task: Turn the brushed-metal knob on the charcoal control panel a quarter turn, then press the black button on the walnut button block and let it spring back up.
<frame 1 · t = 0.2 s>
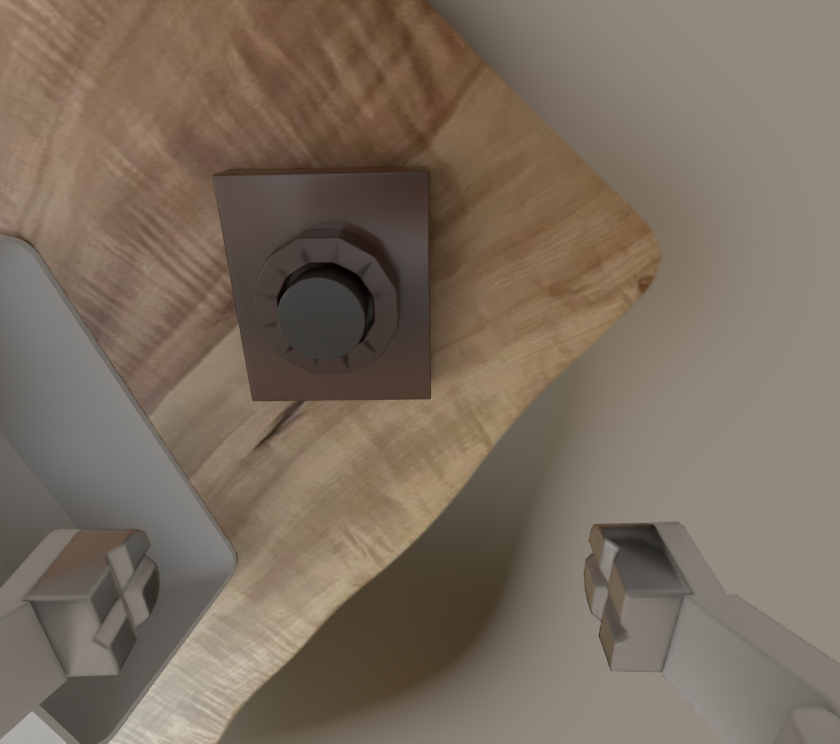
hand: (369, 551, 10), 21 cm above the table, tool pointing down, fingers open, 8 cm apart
grey storage bin: (42, 453, 34), on the table
button block: (337, 285, 29), on the table
button: (324, 313, 25), point 4 cm above the table, slide at 0.1 cm
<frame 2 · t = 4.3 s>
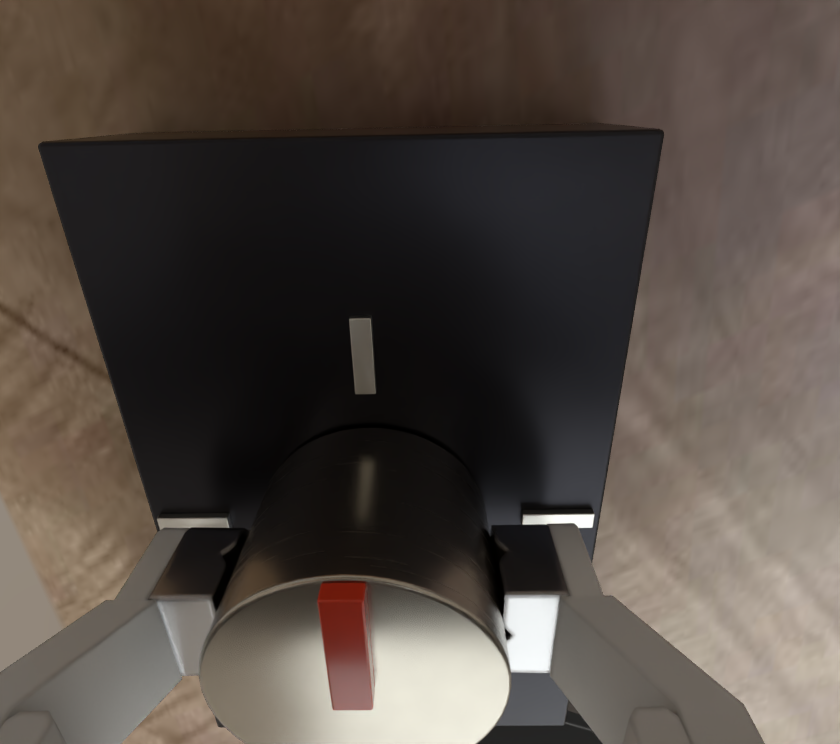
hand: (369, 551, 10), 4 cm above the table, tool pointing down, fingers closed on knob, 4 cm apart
knob: (366, 598, 9), point 5 cm above the table, hinge at -0.2°, touching gripper
panel: (385, 435, 13), on the table
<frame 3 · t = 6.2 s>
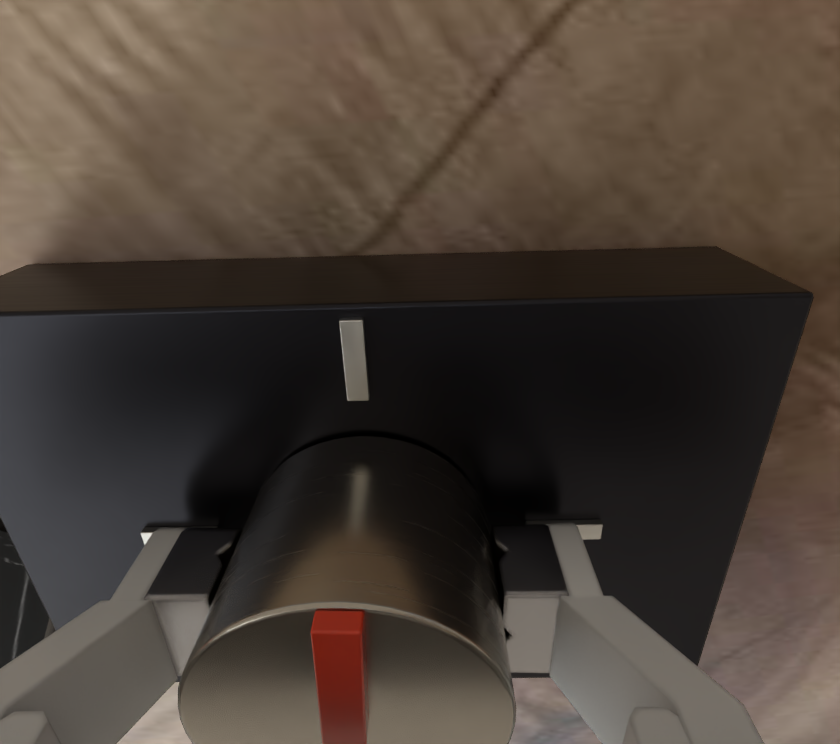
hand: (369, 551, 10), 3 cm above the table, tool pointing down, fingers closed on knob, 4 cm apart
knob: (360, 618, 8), point 5 cm above the table, hinge at 87.3°, touching gripper
panel: (382, 441, 13), on the table
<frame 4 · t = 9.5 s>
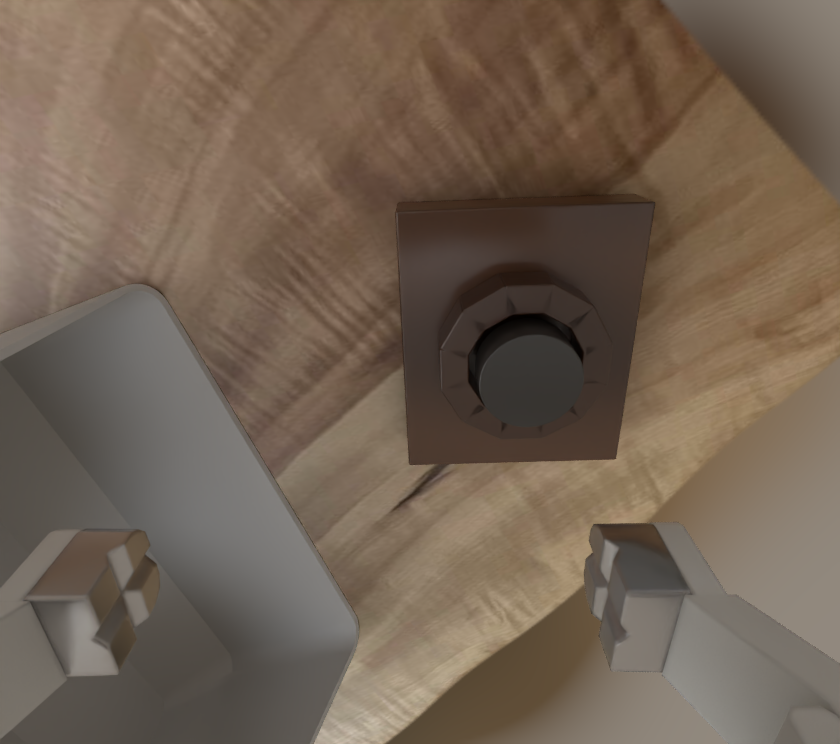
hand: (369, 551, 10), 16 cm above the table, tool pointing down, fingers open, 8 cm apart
grey storage bin: (151, 518, 31), on the table
button block: (510, 330, 25), on the table
button: (527, 372, 21), point 4 cm above the table, slide at 0.1 cm
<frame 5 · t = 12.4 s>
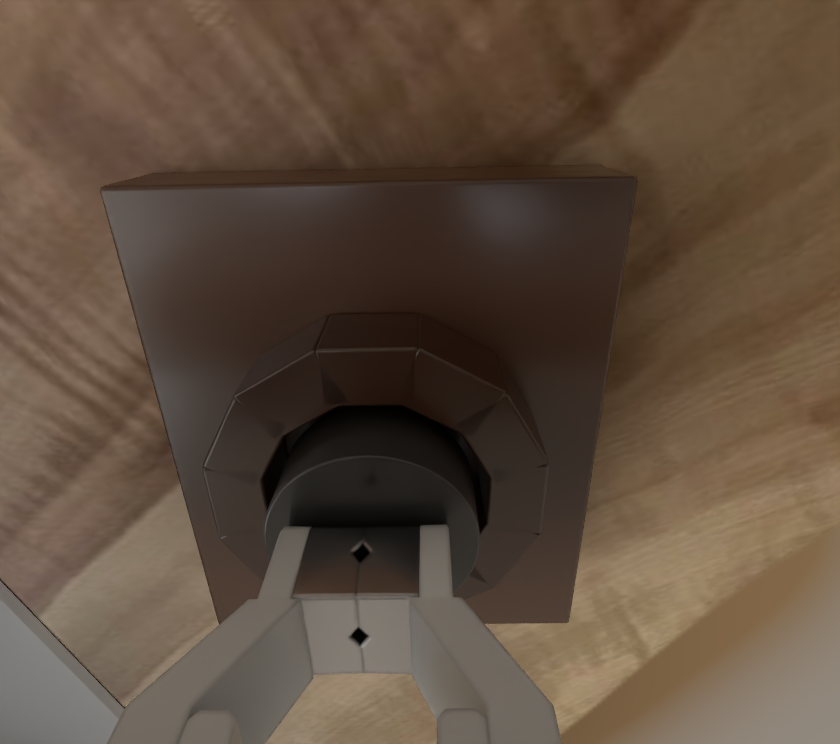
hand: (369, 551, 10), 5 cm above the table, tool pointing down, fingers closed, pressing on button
button block: (388, 404, 14), on the table
button: (375, 513, 11), point 4 cm above the table, slide at -0.1 cm, touching gripper
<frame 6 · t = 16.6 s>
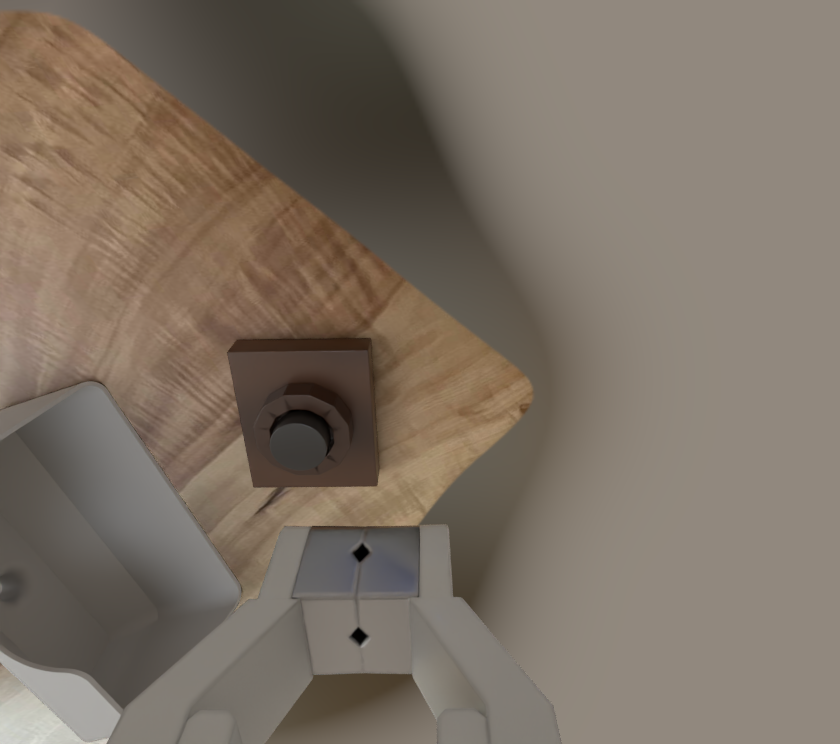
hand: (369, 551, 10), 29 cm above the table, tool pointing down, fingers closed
grey storage bin: (101, 516, 48), on the table
button block: (312, 408, 42), on the table
button: (300, 440, 38), point 4 cm above the table, slide at 0.1 cm
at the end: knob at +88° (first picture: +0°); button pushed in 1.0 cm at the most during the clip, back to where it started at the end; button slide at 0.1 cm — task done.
